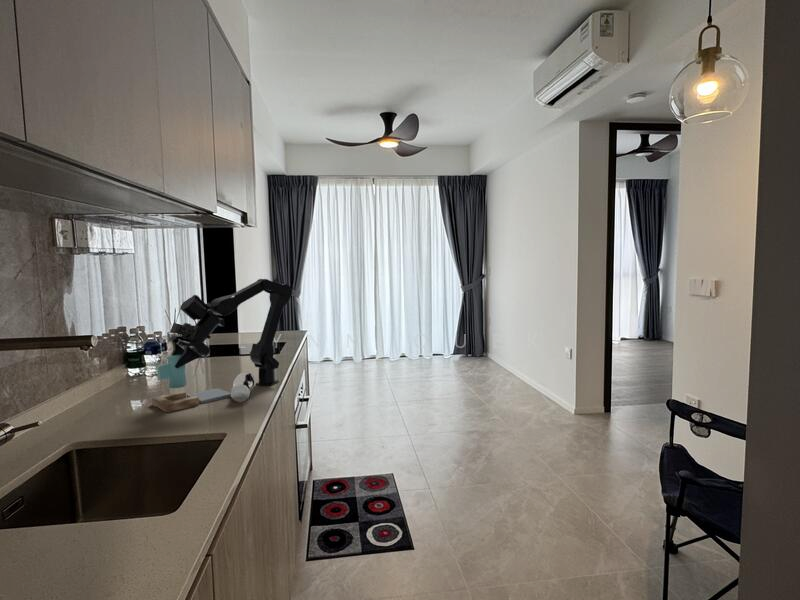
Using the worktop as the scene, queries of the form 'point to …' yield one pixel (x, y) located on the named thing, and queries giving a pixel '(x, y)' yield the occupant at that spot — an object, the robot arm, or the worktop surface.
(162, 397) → the bracket
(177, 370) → the teal gourd with tab
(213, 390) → the coaster
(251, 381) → the beer glass
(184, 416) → the worktop surface
